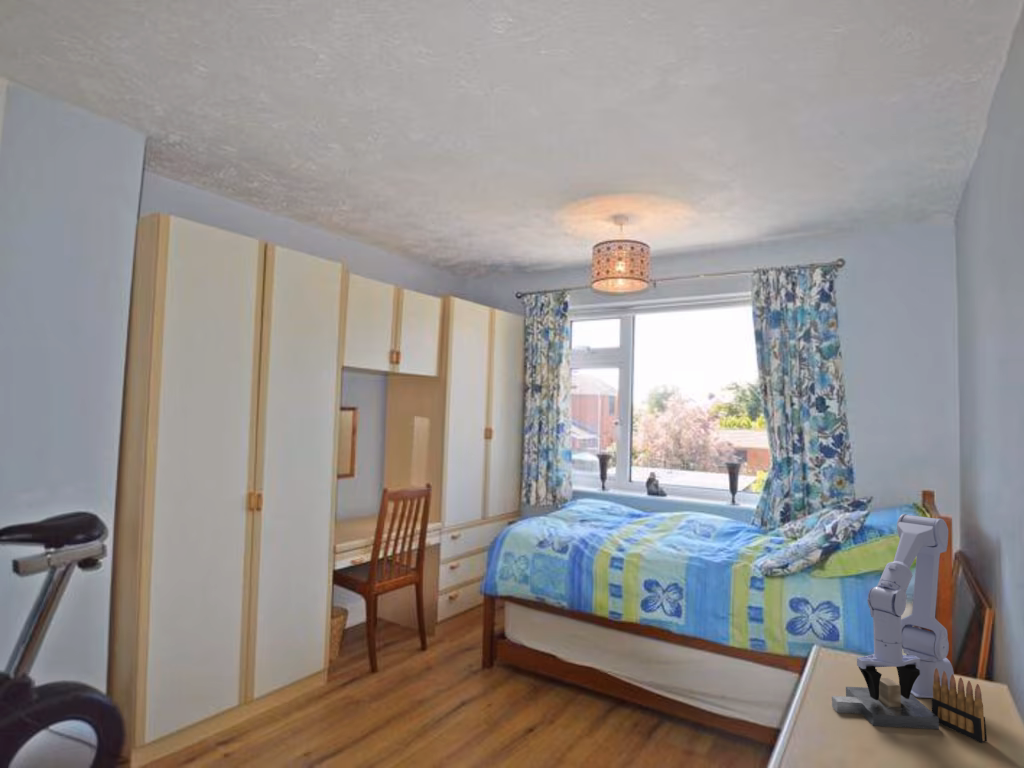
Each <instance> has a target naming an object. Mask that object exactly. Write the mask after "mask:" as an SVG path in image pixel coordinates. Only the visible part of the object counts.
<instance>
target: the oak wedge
mask: <svg viewBox="0 0 1024 768" xmlns="http://www.w3.org/2000/svg"><path fill="white" fill-rule="evenodd" d="M879 701H880V702H881V703H882V704H883V705H884V706H885V707H901V691H900V685H899V683H897V682H896V681H894V680H893V679H891V678H889V677H881V678H880V683H879Z"/></svg>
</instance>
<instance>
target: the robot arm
mask: <svg viewBox="0 0 1024 768" xmlns="http://www.w3.org/2000/svg"><path fill="white" fill-rule="evenodd" d="M896 530H897V535H898V538H899V541H898V545H897V548H896V550H895V555H894V558H893V561H890V562H887V563H886V565H885V567H884V570H883V571H882V574H881V576H880V578H879V581H878V582H877V584H876V586H874V587H871V588H870V589H869V592H868V595H867V605H868V608H869V612H870V617H871V618H872V623H873V653H872V654H869V655H866V656H860V657H856V666H857V667H858V669H859V671H860V672H861V674H862V676H863V678H864V681H865V683H866V686H867V688H868V689H869V693H870V697H872V698H873V699H875V700H879V683H880V678H882V675H883V674H882V673H881V672H879V671H878V669H877V668H887V667H888V668H891V667H893V668H894V667H895V668H896V671H897V674H898V675H897V676H898V684H899V685H900V691H901V695H902V696H903V697H905V698H906V699H909V697H910V694H911V695H913V696H914V697H915V698H920V699H932V698H933V680H934V671H935V668H937V670H938V672H939V677H940V685H941V683H942V674H943V672H944V671H945V673H946V675H947V679H948V688H949V690H950V677H951V675H952V674H953V675H954V674H955V673H954V668H953V664H952V663H951V661H950V660H949V659H948V657H947V656H948V655H949V648H950V647H949V646H950V644H949V640H948V629H947V628H946V627H945V626H944V625H943V624H942V623H941V622H939V621H938V619H937V618H936V608H937V597H938V596H937V595H938V582H939V581H938V580H939V566H940V558H941V557H940V556H941V554H942V553H943V554H944V553H946V552H947V551H948V550H947V549H948V545H949V543H948V542H949V527H948V525H947V523H946V521H945V520H944V519H943V518H936V517H935V518H934V517H927V516H920V515H919V516H917V515H911V514H906V513H903V514H901V515H900V516H899V517H898V519H897V522H896ZM915 559H916V560H915ZM914 561H915V572H914V585H913V586H914V587H913V597H912V598H913V599H912V611H911V614H909V615H907V616H905V617H903V618H902V616H903V614H904V612H905V610H906V608H907V607H906V605H907V599H908V598H907V597H908V594H906V592H907V591H908V587H909V585H910V583H911V580H912V579H913V572H912V570H911V569H910V568H911V567H912V565H913V563H914ZM954 676H955V675H954Z"/></svg>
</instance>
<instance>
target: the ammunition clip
mask: <svg viewBox="0 0 1024 768" xmlns="http://www.w3.org/2000/svg"><path fill="white" fill-rule="evenodd" d="M963 680H964V679H962V677H959V678H958V682H957V681H956V677H955V675H953V674H952V675H951V677H950V690H949V688H948V679H947V675H946V673H945V671H944V672H943V674H942V683H941V685H940V677H939V672H938V670H937V668H935V671H934V680H933V698H931V712H933V713H934V714H935V715H936V716H937V717H938V718H939V725H941V726H943V727H946V728H948V729H950V730H952V731H953V732H954V731H955V732H957V733H958V734H961V735H963V736H965V737H967V738H969V739H971V740H973V741H976V742H978V743H980V744H981V743H982V744H983V743H987V742H988V736H987V726H986V725H987V724H986V723H987V722H986V716H984V703H983V698H982V691H981V690H982V689H981V687H980V685H979V684H978V683H976V685H975V689H974V691H973V686H972V683H971V680H967V682H966V683H967V684H966V688H965V685H964V681H963Z"/></svg>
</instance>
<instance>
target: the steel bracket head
mask: <svg viewBox="0 0 1024 768" xmlns="http://www.w3.org/2000/svg"><path fill="white" fill-rule="evenodd" d="M831 707H832V708H833V709H834V711H835V712H836V713H839V714H859V715H862V716H863V717H865V719H866V720H867V721H868V722H869V723H870V724H871V726H873V727H889V728H890V727H891V728H906V729H907V728H908V729H925V730H926V729H927V730H930V729H931V730H939V729H940V724H939V718H938V717H937V716H936V715H935V714H934V713H933V712H932V710H930V709H929V708H928V707H926V705H924V704H923V702H921V701H920V700H919V699H917V697H915V696H914V695H913V694H912V693H910V697H909V699H906V698H905V697H903V696H902V695H901V707H885V706H884V705H883V704H882V703H881V702H880V701H879V700H875V699H873V698H872V697H870V693H869V689H868V687H866V686H865V687H862V686H845V695H844V696H843V695H842V696H841V695H840V696H839V695H831Z"/></svg>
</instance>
